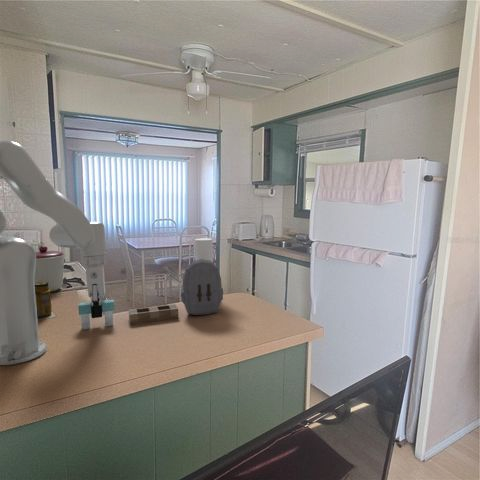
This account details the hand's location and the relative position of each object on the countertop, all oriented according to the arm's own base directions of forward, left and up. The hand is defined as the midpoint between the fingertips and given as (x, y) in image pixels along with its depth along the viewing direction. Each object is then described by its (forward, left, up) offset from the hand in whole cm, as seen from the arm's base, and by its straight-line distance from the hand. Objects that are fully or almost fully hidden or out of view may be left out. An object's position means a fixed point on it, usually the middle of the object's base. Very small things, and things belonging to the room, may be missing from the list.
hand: (97, 315), depth 111 cm
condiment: (+19, +19, -4) cm, 27 cm away
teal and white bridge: (0, 0, -4) cm, 4 cm away
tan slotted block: (0, -18, -4) cm, 18 cm away
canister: (+61, +24, -4) cm, 66 cm away
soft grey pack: (-2, -35, -4) cm, 35 cm away
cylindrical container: (+17, -41, -4) cm, 45 cm away
